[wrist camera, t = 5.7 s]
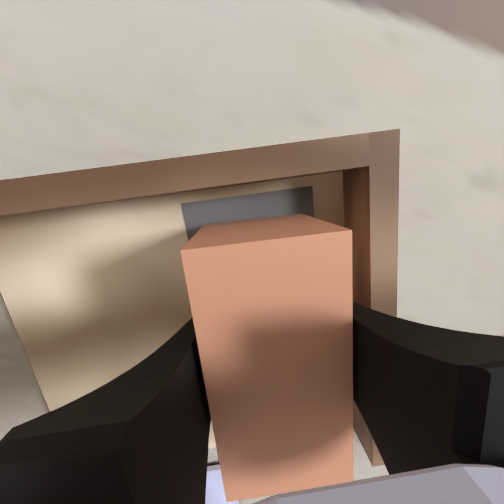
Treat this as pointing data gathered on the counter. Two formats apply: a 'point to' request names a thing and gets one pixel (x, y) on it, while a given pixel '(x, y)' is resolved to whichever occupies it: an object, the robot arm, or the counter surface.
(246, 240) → the terracotta bar
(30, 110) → the counter surface
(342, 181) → the tray
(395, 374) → the robot arm
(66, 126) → the counter surface
